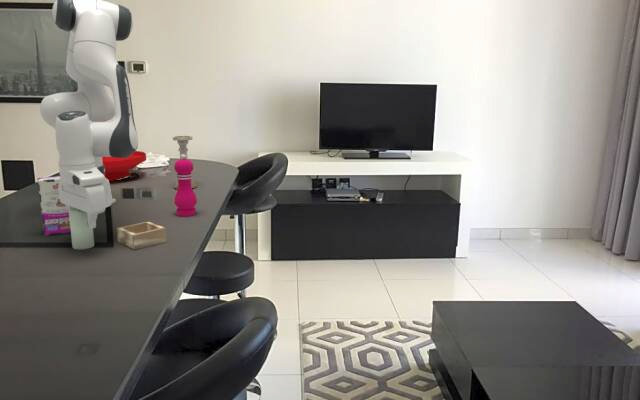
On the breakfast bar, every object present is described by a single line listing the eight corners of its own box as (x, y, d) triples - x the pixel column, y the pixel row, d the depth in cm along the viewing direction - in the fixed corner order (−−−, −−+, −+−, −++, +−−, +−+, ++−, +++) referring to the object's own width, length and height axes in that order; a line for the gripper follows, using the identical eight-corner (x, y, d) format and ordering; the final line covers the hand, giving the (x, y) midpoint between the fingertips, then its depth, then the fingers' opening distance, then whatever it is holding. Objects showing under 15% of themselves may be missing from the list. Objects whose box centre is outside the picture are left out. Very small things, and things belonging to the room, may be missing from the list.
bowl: (162, 175, 244) (160, 152, 242) (111, 188, 217) (109, 163, 215) (110, 169, 256) (108, 148, 254) (55, 181, 229) (52, 158, 227)
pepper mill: (191, 217, 178) (188, 156, 173) (171, 216, 179) (167, 155, 174) (201, 211, 185) (198, 152, 180) (181, 210, 186) (177, 152, 181)
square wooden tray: (117, 241, 154) (116, 228, 153) (148, 234, 160) (147, 221, 159) (135, 249, 147) (134, 235, 146) (166, 241, 154) (165, 228, 153)
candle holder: (201, 186, 222) (198, 136, 217) (185, 191, 214) (182, 139, 209) (185, 184, 226) (182, 135, 221) (169, 188, 219) (166, 137, 214)
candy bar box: (84, 226, 167) (79, 173, 163) (85, 231, 163) (80, 177, 159) (43, 231, 162) (36, 177, 158) (43, 236, 158) (37, 180, 154)
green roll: (69, 246, 150) (65, 210, 147) (88, 241, 154) (85, 207, 151) (77, 250, 146) (74, 214, 144) (98, 246, 150) (94, 210, 148)
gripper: (49, 170, 150) (55, 219, 153) (83, 180, 136) (89, 234, 139) (72, 167, 154) (78, 215, 157) (108, 177, 141) (113, 229, 144)
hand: (83, 224), depth 148 cm, fingers open, 8 cm apart
